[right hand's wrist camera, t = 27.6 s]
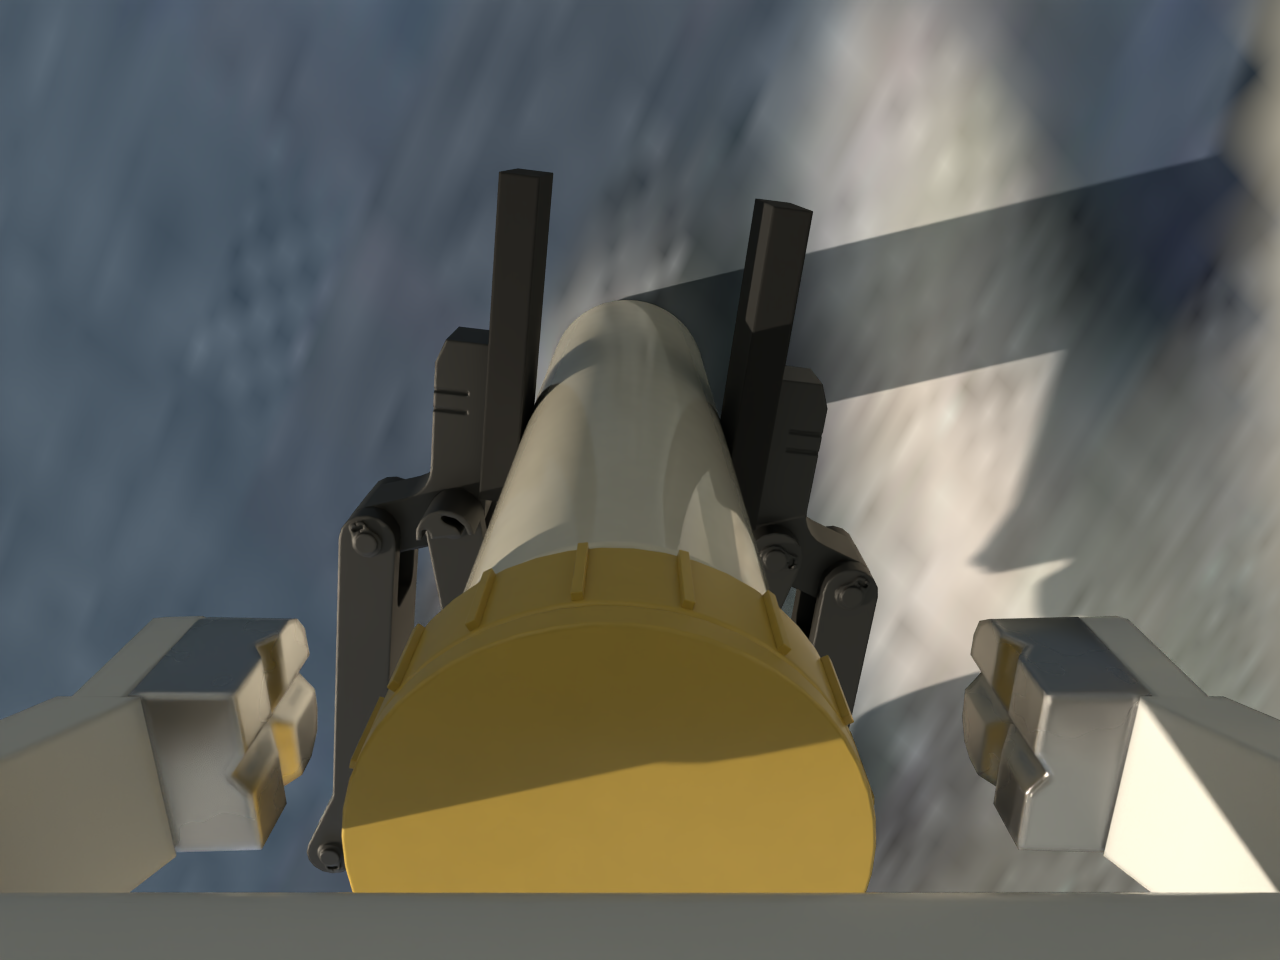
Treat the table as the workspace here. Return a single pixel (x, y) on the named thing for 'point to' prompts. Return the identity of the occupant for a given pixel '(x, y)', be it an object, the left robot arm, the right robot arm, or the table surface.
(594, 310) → the jar
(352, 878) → the lid
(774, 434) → the left robot arm
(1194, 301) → the table surface
